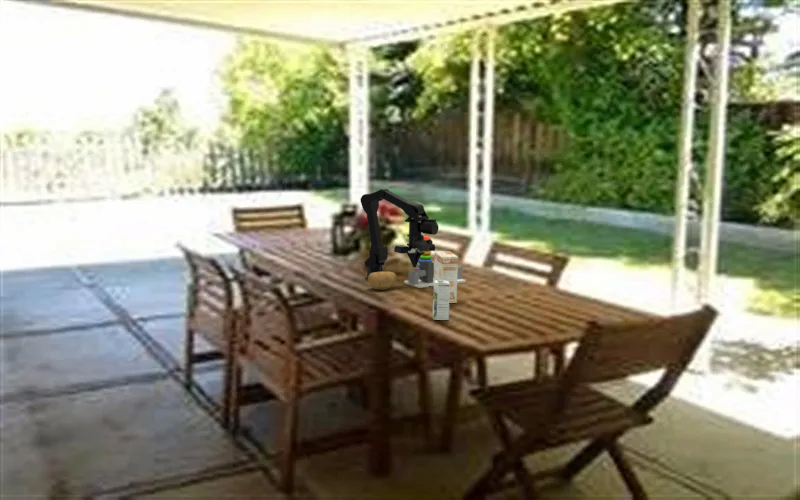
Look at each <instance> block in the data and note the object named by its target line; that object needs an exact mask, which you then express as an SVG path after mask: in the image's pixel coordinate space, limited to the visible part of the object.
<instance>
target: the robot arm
mask: <svg viewBox="0 0 800 500" xmlns="http://www.w3.org/2000/svg"><path fill="white" fill-rule="evenodd" d="M383 200H385V201H386V202H388V203H390V204H391V205H393V206H396V207H397V208H399V209H401V210H403V213H404V214H405V215H406V216H408V217H407V218H406V219H405V220H404V222H405V223H408V233H407V234H406V237H407V238H408V242H407V243H406V245H403V244H402V245H401V244H399V245H397V244H396V245H395V246H394V247H393V248H394V250H393V252H394V253H397V254H406V255H407V256H408V258H409V260H410V263H411V266H412V267H413V268H417V267H418V263H419V262H418V260H419V259H420V256H421V255H422V254H423V253H425V252H423V251H428V250H429V251H431V252H435V251H436V246H435V244H434V243H433V240H432V239H430V240H424V236H425V235H433V236H434V235H437V234H438V232H439V224H438V222H437V219H436V218H433V219H432V218H430V217H429V216H428V214H427V212H426V210H425V206H424V205H423V204H421V203H417V202H413V201H410V200H407V199H405V198H403V197H402V196H400V195H398V194H397V193H394V192H392V191H390V189H388V188H382V189H381V188H380V189H379V190H376V191H374V192H370V193H365V194H363V195H362V196H361V197H360V204H361V208H362V210H363V211H364V212H365V214H366V220H367V225H368V233H369V239H370V247H369V251H368V252H369V253H368V255H369V256H368V258H367V259H365V261H364V267H366V277H364V278H365V279H367V280H368V276H369V275H370V274H371V273H374V272H384V269H383V266H384V265H385V263H386V262H387V260H388V258H389V257H388V256H389V253H388V246H384V244H383V242H382V236H381V228H380V223H379V216H378V210H379V207H380V202H381V201H383ZM424 234H425V235H424Z"/></svg>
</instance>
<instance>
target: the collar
mask: <svg viewBox="0 0 800 500" xmlns="http://www.w3.org/2000/svg"><path fill="white" fill-rule="evenodd" d="M419 270H426V276H424V277H419V280H422V281H426V282H433V278H434V275H433V274H434V262H433V261H432V262H429V261H420V266H419Z"/></svg>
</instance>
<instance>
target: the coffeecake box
mask: <svg viewBox="0 0 800 500" xmlns="http://www.w3.org/2000/svg"><path fill="white" fill-rule="evenodd" d="M433 263H434V275H433V278H434V281H435V280H446V281H449V283H450V300H449V303H458V297H457V296H458V283H457V276H458V266H459V257H458V255H456V254H454V253H453V252H451V251H449V250H446V251H445V250H443V251H439V250H437V251H436V250H435V251H434V262H433Z"/></svg>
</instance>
